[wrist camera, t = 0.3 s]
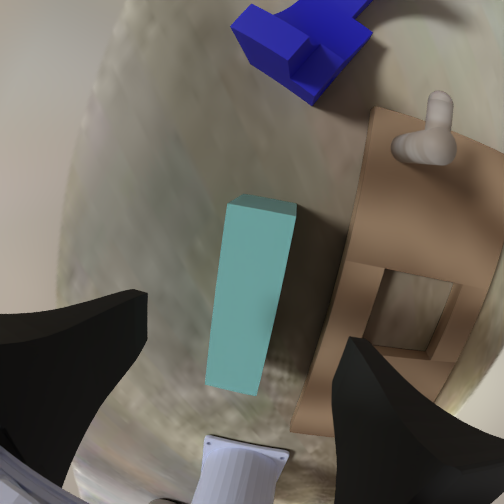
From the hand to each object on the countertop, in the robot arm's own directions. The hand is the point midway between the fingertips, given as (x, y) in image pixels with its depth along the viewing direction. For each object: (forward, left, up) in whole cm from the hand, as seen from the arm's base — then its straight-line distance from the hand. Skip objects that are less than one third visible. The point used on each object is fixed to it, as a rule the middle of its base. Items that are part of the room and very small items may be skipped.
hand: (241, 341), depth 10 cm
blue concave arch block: (+16, -2, -10) cm, 19 cm away
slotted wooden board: (-2, -10, -9) cm, 14 cm away
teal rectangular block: (-2, +1, -10) cm, 10 cm away
